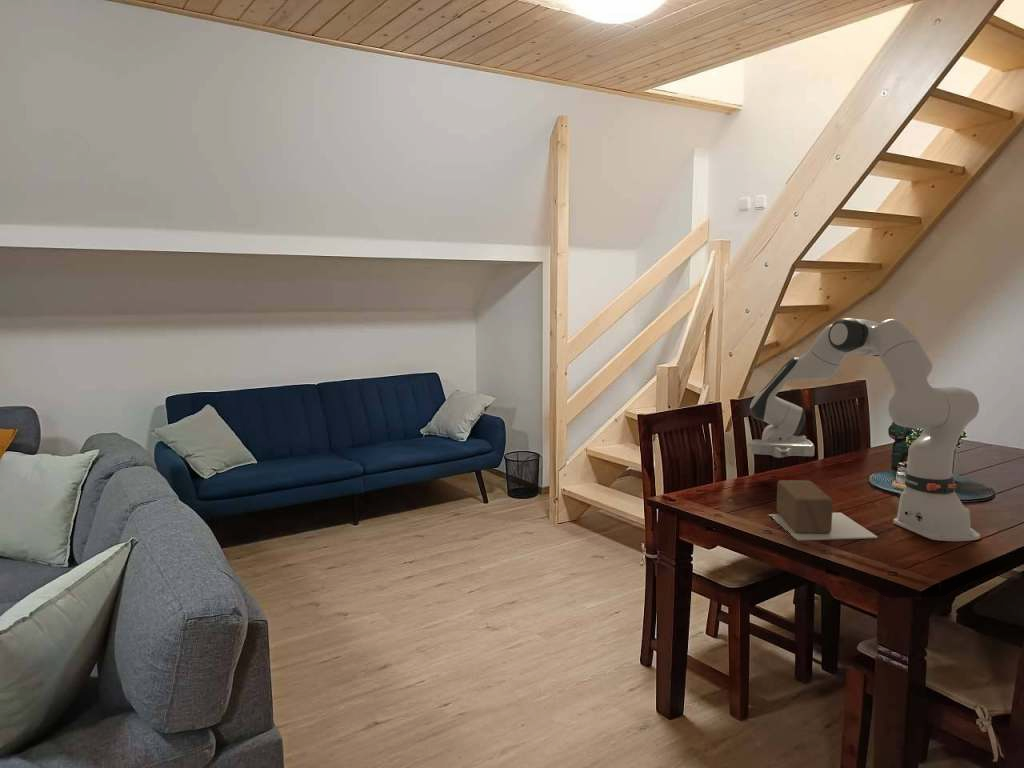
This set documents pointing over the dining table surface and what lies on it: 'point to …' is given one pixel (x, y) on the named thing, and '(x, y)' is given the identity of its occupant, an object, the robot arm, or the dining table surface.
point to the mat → (839, 529)
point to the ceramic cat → (899, 443)
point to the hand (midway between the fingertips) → (784, 453)
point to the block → (804, 506)
